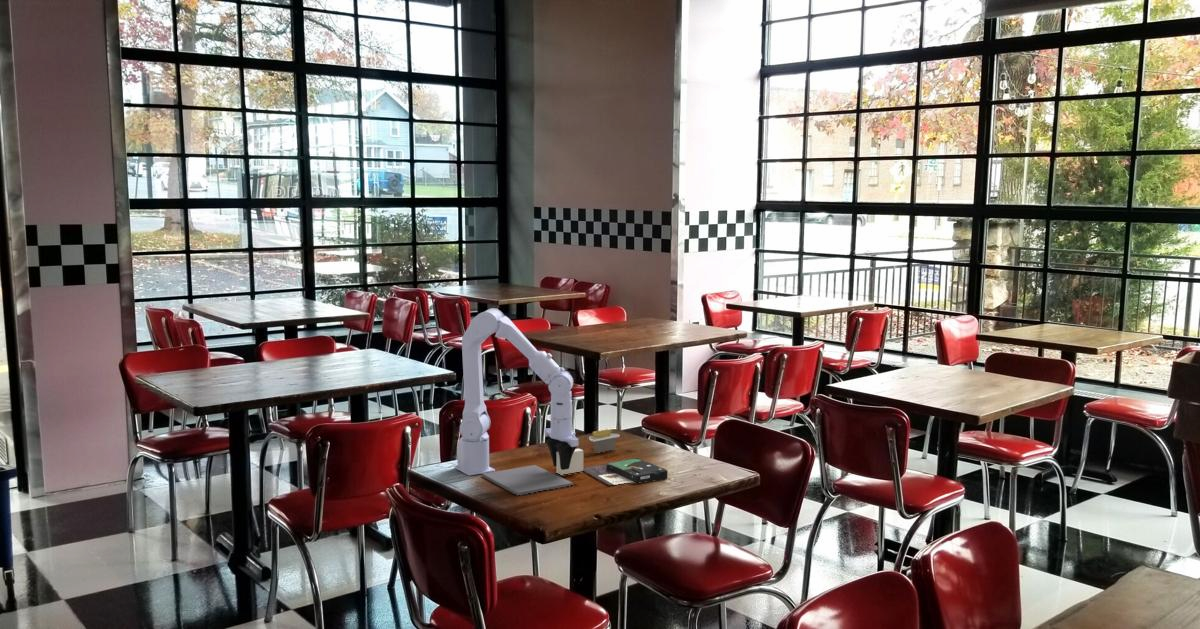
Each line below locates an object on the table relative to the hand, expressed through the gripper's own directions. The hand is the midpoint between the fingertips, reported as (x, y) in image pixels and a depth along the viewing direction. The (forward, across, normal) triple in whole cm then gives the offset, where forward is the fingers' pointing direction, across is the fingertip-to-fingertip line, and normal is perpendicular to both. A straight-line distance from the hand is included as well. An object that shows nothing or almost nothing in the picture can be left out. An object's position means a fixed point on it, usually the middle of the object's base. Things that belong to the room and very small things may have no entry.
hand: (561, 467), depth 259 cm
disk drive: (+2, -11, -17) cm, 20 cm away
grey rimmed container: (+2, +14, -22) cm, 27 cm away
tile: (+2, 0, -3) cm, 3 cm away
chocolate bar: (+3, -8, -10) cm, 13 cm away
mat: (+2, -1, +11) cm, 11 cm away
